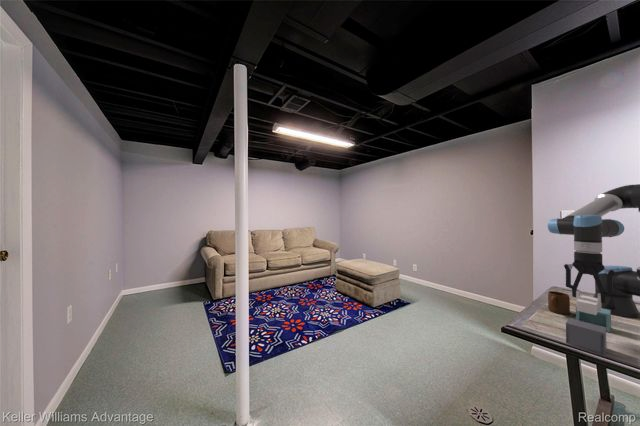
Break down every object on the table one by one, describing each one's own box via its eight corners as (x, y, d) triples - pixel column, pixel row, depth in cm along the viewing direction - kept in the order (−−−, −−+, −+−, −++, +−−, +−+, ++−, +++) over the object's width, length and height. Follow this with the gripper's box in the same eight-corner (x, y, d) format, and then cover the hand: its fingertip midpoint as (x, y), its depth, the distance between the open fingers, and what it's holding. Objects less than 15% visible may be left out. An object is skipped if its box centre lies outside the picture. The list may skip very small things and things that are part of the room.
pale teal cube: (578, 319, 105) (578, 303, 105) (611, 327, 98) (610, 310, 98) (576, 323, 101) (575, 307, 101) (609, 332, 94) (609, 314, 94)
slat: (581, 304, 97) (581, 295, 97) (599, 308, 93) (599, 298, 93) (576, 310, 90) (576, 300, 90) (596, 315, 86) (596, 305, 86)
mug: (563, 318, 107) (563, 299, 107) (542, 312, 113) (541, 294, 113) (572, 313, 112) (571, 294, 112) (551, 307, 119) (551, 290, 119)
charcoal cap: (569, 336, 91) (568, 318, 91) (606, 348, 83) (606, 327, 83) (566, 342, 87) (565, 322, 87) (605, 355, 79) (604, 333, 79)
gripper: (554, 250, 97) (555, 302, 97) (624, 256, 82) (625, 318, 82) (558, 248, 102) (558, 298, 101) (624, 254, 87) (625, 313, 87)
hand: (588, 307), depth 92 cm, fingers closed on slat, 5 cm apart
